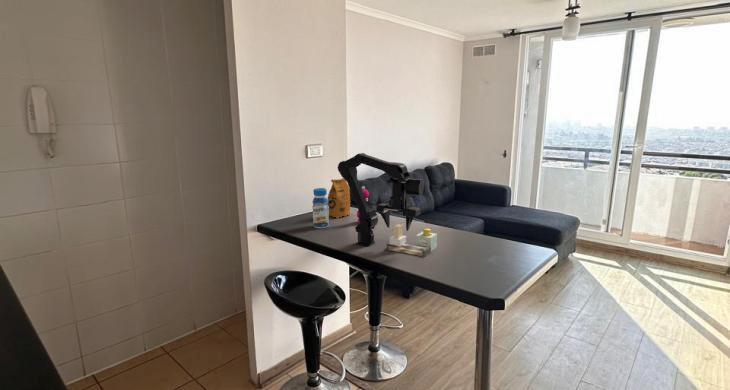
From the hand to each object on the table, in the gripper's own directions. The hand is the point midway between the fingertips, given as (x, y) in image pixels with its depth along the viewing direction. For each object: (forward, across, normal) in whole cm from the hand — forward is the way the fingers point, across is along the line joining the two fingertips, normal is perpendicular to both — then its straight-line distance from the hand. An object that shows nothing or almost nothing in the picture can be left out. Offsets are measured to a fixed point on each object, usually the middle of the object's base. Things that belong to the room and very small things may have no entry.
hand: (397, 229), depth 166 cm
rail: (+9, -5, 0) cm, 10 cm away
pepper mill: (+9, +36, -29) cm, 47 cm away
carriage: (+6, 0, 0) cm, 6 cm away
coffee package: (+9, +56, -34) cm, 66 cm away
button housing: (+9, -10, -8) cm, 15 cm away
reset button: (+6, -10, -8) cm, 14 cm away
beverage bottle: (+9, +51, -11) cm, 53 cm away
